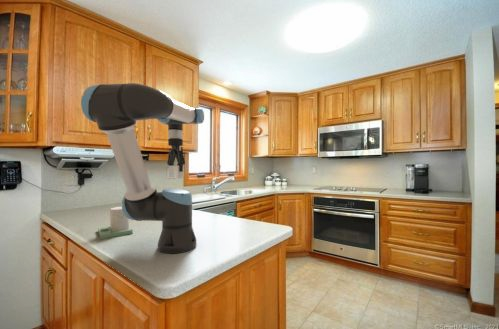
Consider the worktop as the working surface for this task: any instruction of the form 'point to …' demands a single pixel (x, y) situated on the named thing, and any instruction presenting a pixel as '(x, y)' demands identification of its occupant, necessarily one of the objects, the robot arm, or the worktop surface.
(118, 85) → the robot arm
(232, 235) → the worktop surface
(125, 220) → the cup
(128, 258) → the worktop surface
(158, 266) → the worktop surface
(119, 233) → the deck
